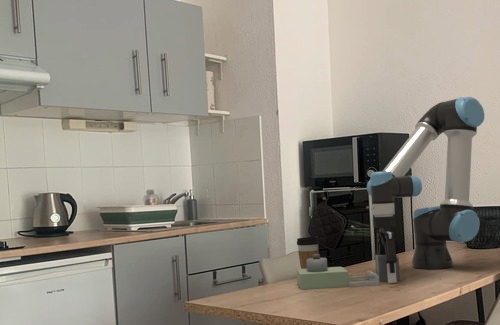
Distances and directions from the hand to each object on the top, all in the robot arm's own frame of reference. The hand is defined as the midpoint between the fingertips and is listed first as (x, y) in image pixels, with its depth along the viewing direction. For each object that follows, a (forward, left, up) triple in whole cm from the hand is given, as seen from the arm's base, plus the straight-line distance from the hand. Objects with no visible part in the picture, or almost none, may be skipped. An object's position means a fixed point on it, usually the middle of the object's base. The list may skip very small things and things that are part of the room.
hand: (388, 279), depth 194 cm
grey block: (0, 0, 0) cm, 0 cm away
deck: (+23, +1, 0) cm, 23 cm away
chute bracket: (+10, +1, 0) cm, 10 cm away
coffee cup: (+25, -18, 0) cm, 31 cm away
